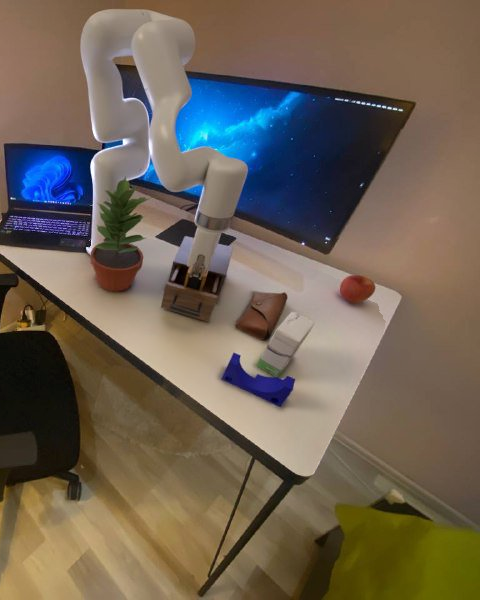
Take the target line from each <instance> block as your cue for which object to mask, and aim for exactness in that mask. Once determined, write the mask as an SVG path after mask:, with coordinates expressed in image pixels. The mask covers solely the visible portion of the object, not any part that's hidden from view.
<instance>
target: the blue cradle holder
mask: <svg viewBox="0 0 480 600" xmlns="http://www.w3.org/2000/svg"><path fill="white" fill-rule="evenodd" d="M241 356H242V355H241V354H238V353H236V352H233V353H232V355H231V356H230V358H229V361H228V363H227V365H226V367H225V370H224V372H223V374H222V376H221V380H222V381H224V382H226V383H229V384H231V385H233V386H235V387H237V388H239V389H241V390H244V391H245V392H247V393H250V394H252V395H254V396H256V397H258V398H260V399H261V400H265V401H266V402H269V403H271V404H273V405H275V406H277V407H279V408H281V407H282V405H283V404H284V403H285V402H286V400H287V399H288V397H289V396H290V395H291V393H292V392H293V391H294V386H295V383H296V378H294V377H292V376H290V375H286V376H285V377H284V378H283V379H282V378H280V377H279V376H278V377H275V376H267V375H266V376H265V375H261V374H260V373H257V374H256V375H255V376H253V375H250V374H249V373H248V372H246V370H245V369H244V368H243V366H242V364H241Z"/></svg>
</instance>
